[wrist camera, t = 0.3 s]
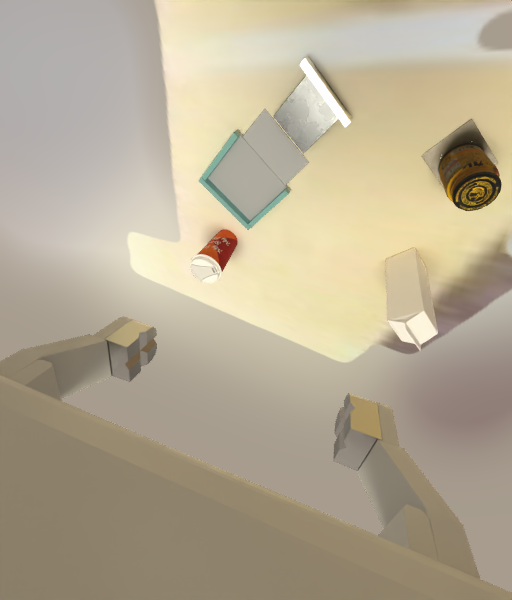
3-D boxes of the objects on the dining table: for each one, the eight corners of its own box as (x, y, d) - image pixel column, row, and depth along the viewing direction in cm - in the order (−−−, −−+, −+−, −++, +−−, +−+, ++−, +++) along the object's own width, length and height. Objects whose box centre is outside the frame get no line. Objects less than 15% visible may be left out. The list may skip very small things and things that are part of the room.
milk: (414, 246, 56) (427, 324, 41) (426, 267, 58) (442, 348, 44) (384, 259, 60) (386, 333, 45) (397, 278, 62) (402, 355, 47)
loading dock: (260, 100, 48) (254, 103, 46) (314, 166, 53) (311, 173, 50) (205, 174, 61) (198, 180, 59) (253, 223, 66) (248, 230, 63)
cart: (309, 56, 41) (304, 58, 39) (352, 117, 45) (350, 122, 42) (269, 107, 47) (263, 111, 45) (310, 157, 51) (306, 163, 48)
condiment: (447, 192, 48) (460, 226, 40) (421, 155, 45) (429, 182, 37) (497, 162, 43) (524, 193, 35) (471, 118, 40) (493, 140, 32)
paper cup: (234, 223, 66) (209, 255, 57) (245, 249, 71) (224, 283, 61) (208, 228, 70) (181, 259, 60) (220, 253, 74) (197, 286, 65)
